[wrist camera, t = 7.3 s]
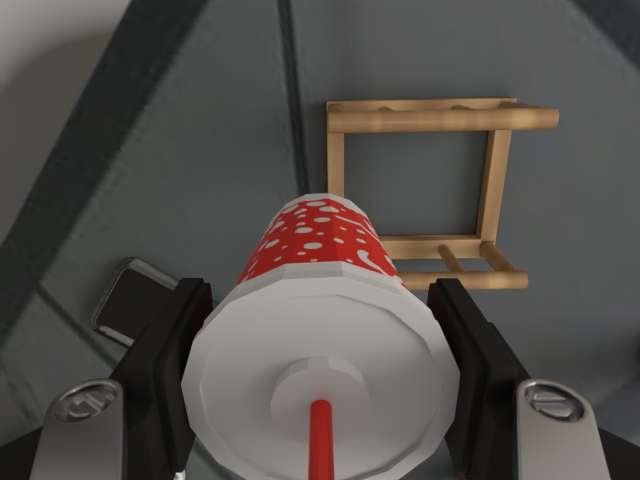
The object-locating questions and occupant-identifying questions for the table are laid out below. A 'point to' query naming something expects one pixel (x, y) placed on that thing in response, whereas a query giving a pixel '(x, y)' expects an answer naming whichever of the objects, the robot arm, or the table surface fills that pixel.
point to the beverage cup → (320, 357)
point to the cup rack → (500, 122)
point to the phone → (131, 301)
